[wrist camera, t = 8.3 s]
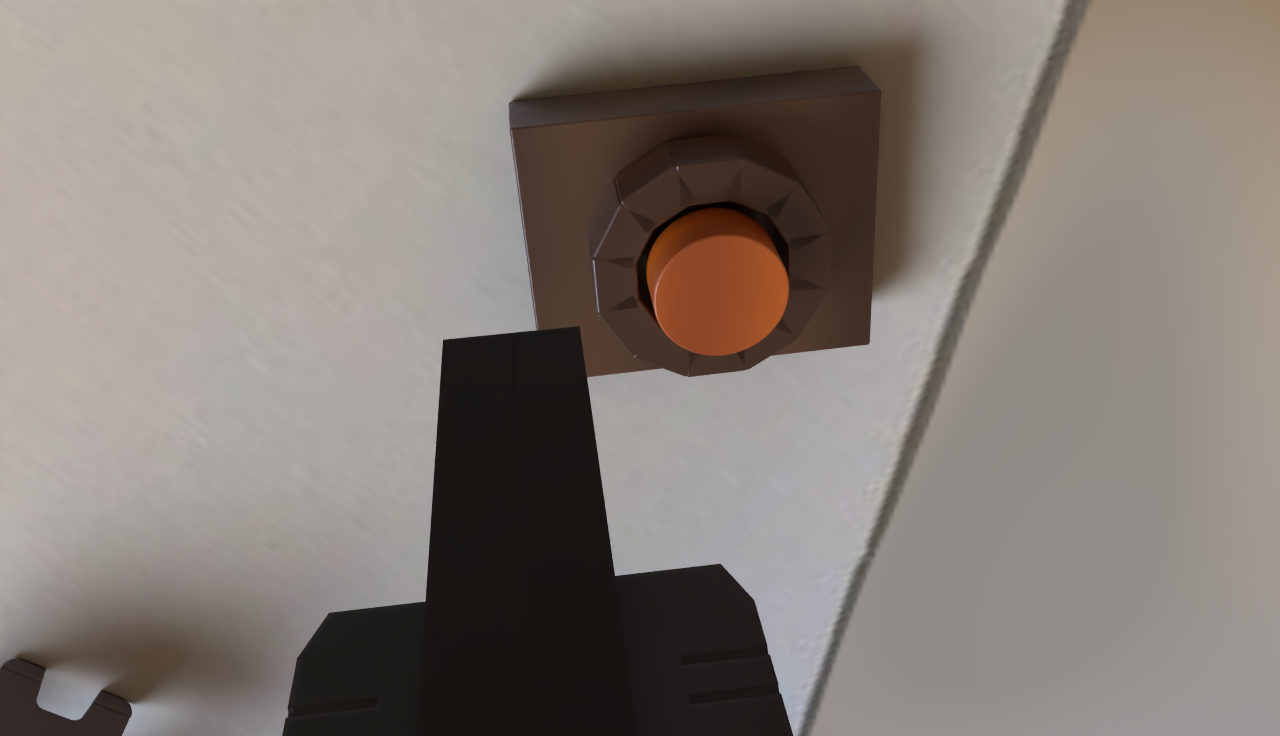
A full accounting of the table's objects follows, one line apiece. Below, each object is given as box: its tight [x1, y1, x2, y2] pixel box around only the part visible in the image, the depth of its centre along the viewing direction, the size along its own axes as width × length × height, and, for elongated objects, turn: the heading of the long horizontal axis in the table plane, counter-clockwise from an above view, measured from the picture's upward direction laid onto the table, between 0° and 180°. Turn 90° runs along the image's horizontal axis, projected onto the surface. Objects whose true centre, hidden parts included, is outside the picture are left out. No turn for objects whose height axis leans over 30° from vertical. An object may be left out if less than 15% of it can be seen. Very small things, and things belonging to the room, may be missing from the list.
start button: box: [646, 208, 789, 356], centre depth 31 cm, size 4×4×2 cm
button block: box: [509, 66, 881, 377], centre depth 33 cm, size 10×8×4 cm
